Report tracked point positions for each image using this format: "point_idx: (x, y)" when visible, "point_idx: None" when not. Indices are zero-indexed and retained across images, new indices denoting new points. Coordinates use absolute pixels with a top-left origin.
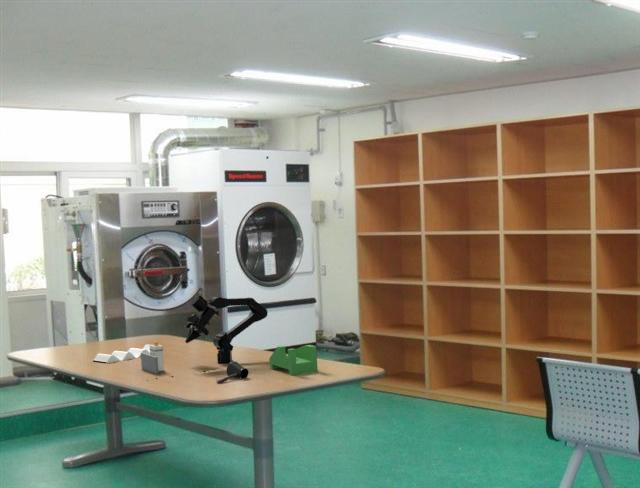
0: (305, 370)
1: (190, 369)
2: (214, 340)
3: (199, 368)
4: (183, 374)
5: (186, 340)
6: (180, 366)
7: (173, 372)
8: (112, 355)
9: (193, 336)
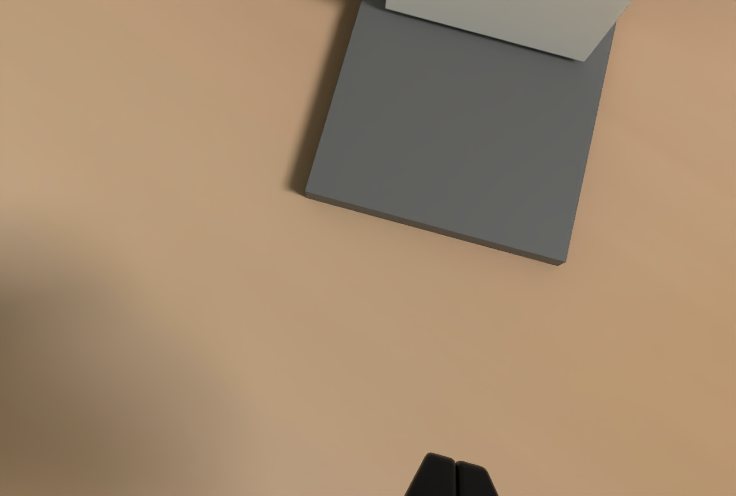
0: None
1: (241, 361)
2: None
3: (173, 488)
4: (22, 64)
5: (427, 492)
6: (610, 456)
7: (284, 95)
8: None
9: None
